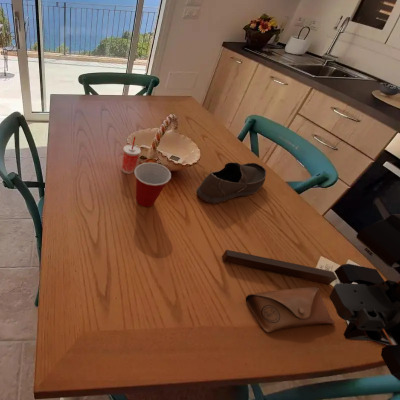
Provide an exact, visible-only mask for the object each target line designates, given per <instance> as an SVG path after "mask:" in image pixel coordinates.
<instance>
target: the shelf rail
mask: <svg viewBox="0 0 400 400" xmlns="http://www.w3.org/2000/svg"><path fill="white" fill-rule="evenodd" d="M221 259H222V263H225V264H231V265H235V266H240V267H244V268H249V269H254V270H259V271H264V272H268V273H272V274H277V275H283V276H286V277H291V278H297V279H299V280H306V281H310V282H315V283H319V284H322V285H323V284H325V285H331V284H332V283H333V282H335V281H336V280H337V279H338V277H337V275H336V274H335V272H334V271H333V270H332V271H331V270H327V269H322V268H318V267H312V266H308V265H303V264H298V263H293V262H289V261H283V260H280V259H274V258H269V257H264V256H260V255H255V254H250V253H245V252H241V251H236V250H231V249H226V250H225V251H224V252H223V253H222V255H221Z"/></svg>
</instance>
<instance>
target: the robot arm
mask: <svg viewBox="0 0 400 400" xmlns="http://www.w3.org/2000/svg"><path fill="white" fill-rule="evenodd" d="M356 239H357V241H359V242H360V243H361V244H362V245H363V246H364V247H365V248H366V249H368V250H369V251H370V252H371V253H372V254H373V255H375V256H376V257H377V258H378V259H379V260H380V261H381V262H382V263H383V264H384V265H386V266H387V267H388V268H399V267H400V213H394V214H393V213H391V214H390V215H389V216H387V217H386V218H384V219H381V220H379V221H376V222H374V223H372V224H370V225H368V226H365V227H363V228H361V229H360V231H358V232H357V234H356ZM333 272H334V274H335V276H336V277H337V279H338V281H339V282H340V283H336V284H334V286H333V288H332V289H331V292H330V294H329V296H328V297H329V300H330V302H331V303H332V305H333V306H334V308H335V311H336V314H337V316H338V317H339V318H340V319H342V320H343V321H347V322H348V324H347V325H346V328H345V330H344V332H343V336H344V338H345V340H348V341H369V342H370V341H371V342H374V343H378V344H383V345H385V346H383V347H381V351H380V352H381V353H380V356H381V359H382V361H383V362H384V364H385V365H386V368H387V369H388V371H389V373H390V374H391V375H392V376H393V377H394V378H396V380H398V381H400V279H399V280H398V281H396V280H395V281H394V280H391V279H386V280H385V279H384V278H383V277H382V275H381V274H380V272H379V271H378V269H376V268H372V267H367V266H361V265H357V264H353V263H343V264H340V266H338V267H337V268H336V269H335V270H334V271H333Z"/></svg>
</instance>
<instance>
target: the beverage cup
mask: <svg viewBox="0 0 400 400" xmlns="http://www.w3.org/2000/svg"><path fill="white" fill-rule="evenodd" d="M135 141H136V136H135V135H134V136H133V141H132V144H126V145H124V146H123V149H122V150H123V154H122V155H123V156H122V163H121V164H122V165H121V171H122V173H124V174H129V175H130V174H134V172H135V168H136V167H137V166H136V165H137V163H138V159H139V156H140V154H141V152H142V151H141V148H140V147H139V146H138V145H135Z"/></svg>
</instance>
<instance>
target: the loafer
mask: <svg viewBox="0 0 400 400" xmlns="http://www.w3.org/2000/svg"><path fill="white" fill-rule="evenodd" d="M266 176H267V170H266V168H265V167H264V166H263V165H261V164H259V163H257V162H247V163H244V164H241V163H239V162H232V161H229V162H226V163H225V164H224V167H223V168H222V169H220V170H215V171H210V172H209V174H208V175H206V176H205V178H204V179H203V180H202V182H201V183H200V186H198V188H196V191H195V192H196V195H197V196H198V197H199V198H200V199H201V200H203V201H204V202H206V203H209V204H219V203H223V202H225V201H226V202H227V201H229V200H231V199H234V198H237V197H245V196H251V195H254V194H255V193H257V192H258V191H260V190H261V188H262V187H263V185H264V183H265V181H266Z"/></svg>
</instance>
